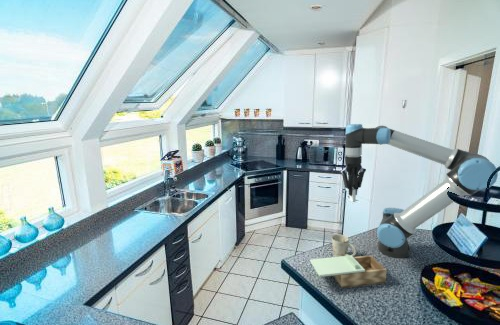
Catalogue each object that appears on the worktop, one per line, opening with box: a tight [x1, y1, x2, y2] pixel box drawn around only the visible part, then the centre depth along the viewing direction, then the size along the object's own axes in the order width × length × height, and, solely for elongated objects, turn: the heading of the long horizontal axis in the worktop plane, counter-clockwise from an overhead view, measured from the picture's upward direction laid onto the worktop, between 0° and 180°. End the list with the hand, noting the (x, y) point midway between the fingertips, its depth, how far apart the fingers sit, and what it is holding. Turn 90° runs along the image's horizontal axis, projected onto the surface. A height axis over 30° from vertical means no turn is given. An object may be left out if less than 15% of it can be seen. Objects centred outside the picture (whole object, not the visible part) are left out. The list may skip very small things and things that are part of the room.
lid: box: [309, 253, 365, 278], centre depth 117 cm, size 20×12×2 cm, turn 96°
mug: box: [331, 234, 357, 257], centre depth 135 cm, size 8×13×10 cm, turn 51°
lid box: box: [332, 254, 387, 289], centre depth 119 cm, size 20×12×6 cm, turn 96°
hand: (352, 201), depth 134 cm, fingers closed
